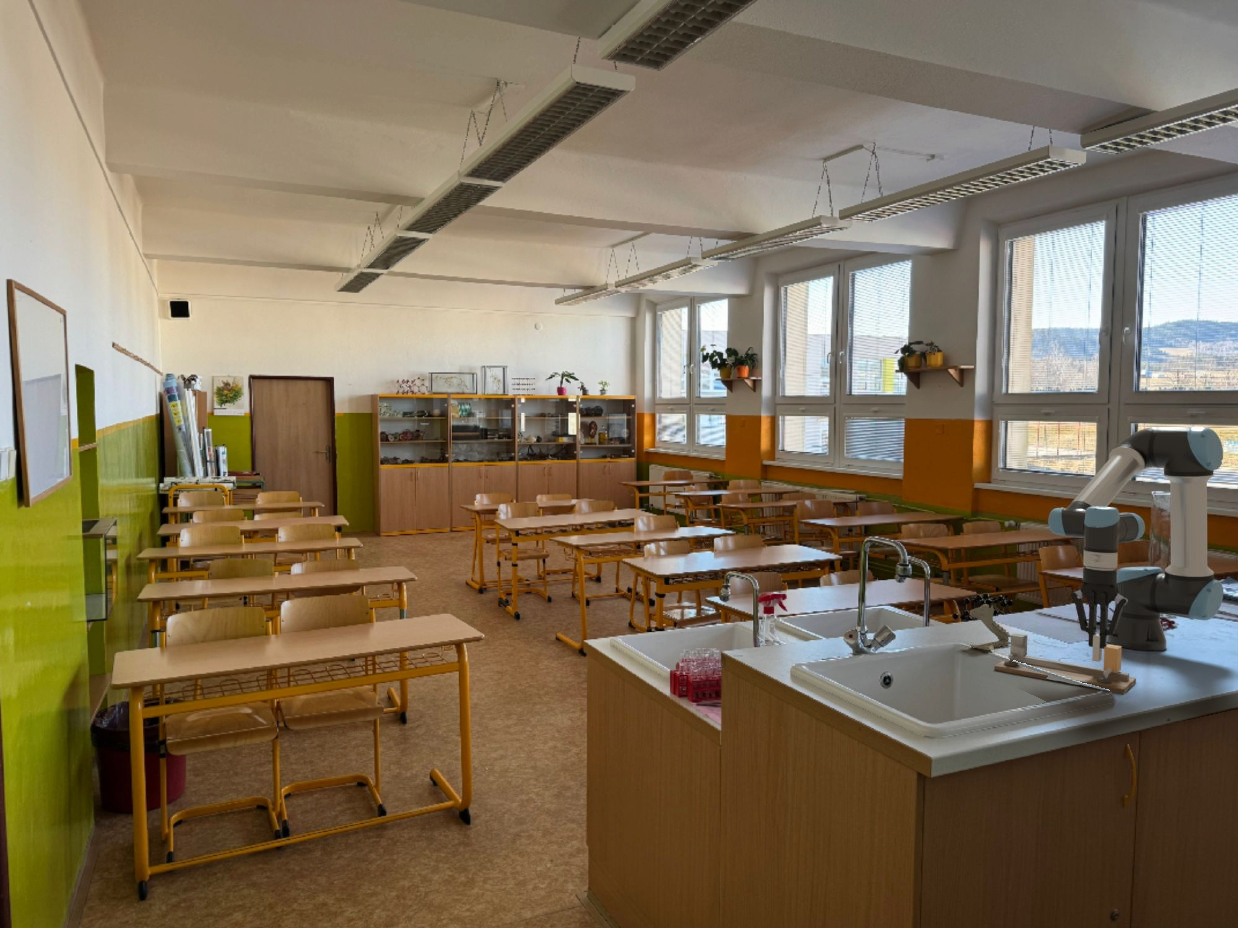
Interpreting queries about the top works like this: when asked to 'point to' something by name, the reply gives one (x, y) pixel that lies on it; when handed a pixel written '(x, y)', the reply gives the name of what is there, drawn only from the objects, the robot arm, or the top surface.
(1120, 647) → the block
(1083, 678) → the gauge board
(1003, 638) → the jawbone
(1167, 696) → the top surface
